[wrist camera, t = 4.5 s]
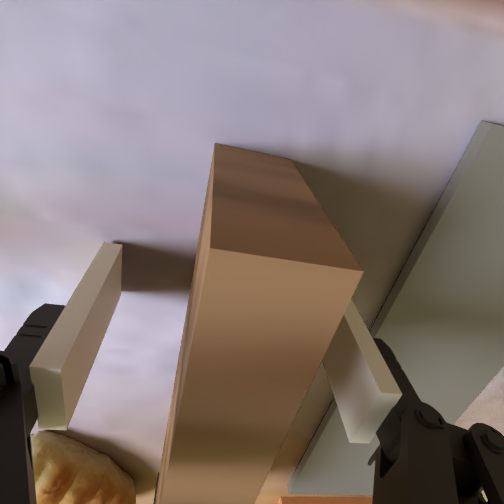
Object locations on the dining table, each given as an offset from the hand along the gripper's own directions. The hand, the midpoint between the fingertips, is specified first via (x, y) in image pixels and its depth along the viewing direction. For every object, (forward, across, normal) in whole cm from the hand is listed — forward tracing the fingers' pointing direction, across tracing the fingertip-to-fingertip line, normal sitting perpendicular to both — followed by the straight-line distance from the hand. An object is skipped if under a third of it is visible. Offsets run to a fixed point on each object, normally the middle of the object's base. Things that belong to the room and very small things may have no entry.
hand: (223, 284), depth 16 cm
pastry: (+1, -8, -17) cm, 18 cm away
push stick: (0, 0, -5) cm, 5 cm away
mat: (0, +13, -5) cm, 14 cm away
